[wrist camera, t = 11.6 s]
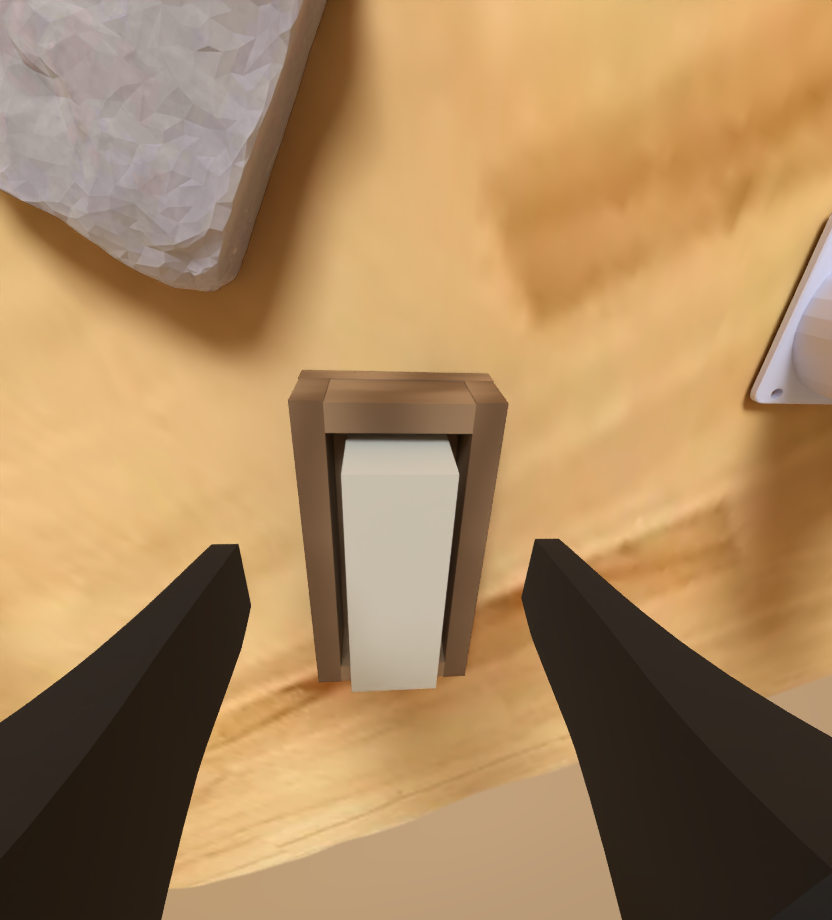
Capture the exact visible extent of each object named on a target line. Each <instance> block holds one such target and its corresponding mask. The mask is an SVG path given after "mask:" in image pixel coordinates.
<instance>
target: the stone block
mask: <svg viewBox="0 0 832 920" xmlns="http://www.w3.org/2000/svg"><path fill="white" fill-rule="evenodd" d="M326 1H327V0H0V190H2V191H4V192H6V193H7V194H9V195H11V196H13V197H14V198H17V199H19V200H22V201H24V202H26V203H28V204H30V205H32V206H35V207H37V208H39V209H41V210H43V211H45V212H47V213H49V214H51V215H53V216H55V217H57V218H59V219H61V220H62V221H63V222H64V223H66V224H67V225H68V226H70V227H71V228H72V229H74V230H75V231H76V232H78V233H79V234H81V235H82V236H84V237H85V238H87V239H88V240H90V241H91V242H93V243H94V244H96V245H97V246H99V247H100V248H101V249H103V250H104V251H106V252H107V253H108V254H110V255H111V256H112V257H114V258H115V259H117V260H118V261H120V262H122V263H123V264H125V265H127V266H129V267H130V268H132V269H134V270H136V271H138V272H140V273H142V274H144V275H146V276H149V277H151V278H154V279H156V280H158V281H160V282H162V283H164V284H166V285H169V286H171V287H174V288H182V289H193V290H200V291H216V290H218V289H219V288H221V287H222V286H223V285H226V284H228V283H229V282H231V281H232V280H234V279H235V278H236V277H237V275H238V273H239V271H240V268H241V263H242V260H243V257H244V255H245V253H246V250H247V247H248V244H249V240H250V237H251V234H252V231H253V227H254V223H255V220H256V217H257V215H258V212H259V209H260V206H261V203H262V200H263V197H264V193H265V190H266V187H267V184H268V180H269V177H270V174H271V171H272V168H273V165H274V162H275V159H276V156H277V154H278V151H279V148H280V145H281V142H282V139H283V135H284V132H285V129H286V126H287V123H288V119H289V116H290V113H291V110H292V107H293V104H294V102H295V99H296V96H297V92H298V89H299V85H300V82H301V79H302V76H303V73H304V69H305V66H306V63H307V59H308V56H309V52H310V49H311V46H312V43H313V40H314V37H315V35H316V32H317V29H318V26H319V23H320V20H321V17H322V14H323V11H324V9H325V5H326Z"/></svg>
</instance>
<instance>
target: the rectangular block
mask: <svg viewBox="0 0 832 920" xmlns="http://www.w3.org/2000/svg"><path fill="white" fill-rule="evenodd" d="M458 482H459V472H458V468H457V465H456V462H455V459H454V456H453V453H452V450H451V447H450V444H449V441H448V438H447V435H446V434H412V433H347V438H346V444H345V451H344V458H343V465H342V472H341V483H342V504H343V524H344V544H345V565H346V585H347V605H348V626H349V646H350V666H351V687H352V692H366V691H387V690H407V689H428V688H436V682H437V673H438V664H439V655H440V646H441V637H442V627H443V618H444V609H445V600H446V591H447V582H448V573H449V564H450V555H451V546H452V536H453V527H454V518H455V509H456V500H457V491H458Z"/></svg>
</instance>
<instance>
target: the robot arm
mask: <svg viewBox="0 0 832 920" xmlns="http://www.w3.org/2000/svg"><path fill="white" fill-rule="evenodd" d="M774 390H775V392H774V393H773V394H772V392H773V391H774ZM771 394H772V395H771ZM750 398H751V399H752V400H753V401H755V402H757V403H761V404H832V214H831V216H830V217H829V219H828V222H827V224H826V226H825V228H824V230H823V233H822V235H821V237H820V239H819V241H818V244H817V246H816V248H815V250H814V253H813V255H812V257H811V259H810V261H809V264H808V266H807V268H806V270H805V272H804V275H803V277H802V279H801V281H800V283H799V286H798V288H797V290H796V292H795V295H794V297H793V299H792V301H791V303H790V306H789V308H788V310H787V312H786V314H785V317H784V319H783V321H782V323H781V326H780V328H779V330H778V332H777V334H776V337H775V339H774V341H773V343H772V345H771V348H770V350H769V352H768V354H767V357H766V359H765V361H764V363H763V365H762V368H761V370H760V372H759V374H758V376H757V379H756V381H755V383H754V385H753V388H752V390H751V393H750ZM521 598H522V602H523V606H524V610H525V614H526V618H527V622H528V626H529V629H530V633H531V637H532V639H533V642H534V644H535V647H536V650H537V652H538V655H539V657H540V660H541V662H542V665H543V668H544V670H545V673H546V675H547V678H548V680H549V683H550V685H551V688H552V690H553V693H554V695H555V698H556V700H557V703H558V705H559V708H560V710H561V713H562V715H563V718H564V720H565V723H566V725H567V728H568V731H569V733H570V736H571V739H572V742H573V745H574V747H575V750H576V754H577V757H578V760H579V764H580V767H581V770H582V773H583V777H584V780H585V784H586V787H587V790H588V794H589V797H590V801H591V804H592V808H593V811H594V815H595V818H596V822H597V826H598V829H599V833H600V837H601V840H602V844H603V847H604V851H605V855H606V859H607V863H608V867H609V871H610V874H611V878H612V882H613V886H614V890H615V894H616V898H617V902H618V906H619V910H620V913H621V918H622V920H832V737H830V736H829V735H827V734H825V733H823V732H822V731H820V730H818V729H816V728H815V727H813V726H811V725H809V724H808V723H806V722H804V721H802V720H801V719H799V718H797V717H796V716H794V715H792V714H790V713H789V712H787V711H785V710H784V709H782V708H780V707H779V706H777V705H775V704H774V703H772V702H771V701H769V700H767V699H766V698H764V697H763V696H761V695H759V694H758V693H756V692H755V691H753V690H751V689H750V688H748V687H746V686H745V685H743V684H742V683H740V682H739V681H737V680H736V679H734V678H733V677H731V676H730V675H728V674H726V673H725V672H723V671H722V670H721V669H719V668H718V667H716V666H715V665H713V664H712V663H711V662H709V661H708V660H706V659H705V658H703V657H702V656H700V655H699V654H698V653H696V652H695V651H693V650H692V649H690V648H689V647H688V646H686V645H685V644H684V643H682V642H681V641H679V640H678V639H677V638H675V637H674V636H673V635H672V634H670V633H669V632H668V631H666V630H665V629H664V628H663V627H661V626H660V625H659V624H657V623H656V622H655V621H654V620H652V619H651V618H650V617H648V616H647V615H646V614H645V613H644V612H642V611H641V610H640V609H639V608H637V607H636V606H635V605H634V604H633V603H631V602H630V601H629V600H628V599H627V598H625V597H624V596H623V595H622V594H621V593H620V592H618V591H617V590H616V589H615V588H614V587H613V586H612V585H610V584H609V583H608V582H607V581H606V580H605V579H604V578H602V577H601V576H600V575H599V574H598V573H597V572H596V571H595V570H593V569H592V568H591V567H590V566H589V565H588V564H587V563H586V562H585V561H583V560H582V559H581V558H580V557H579V556H578V555H577V554H576V553H574V552H573V551H572V550H571V549H570V548H569V547H568V546H567V545H565V544H564V543H563V542H562V541H561V540H559V539H535V541H534V546H533V550H532V554H531V559H530V563H529V567H528V572H527V576H526V580H525V584H524V589H523V593H522V597H521ZM250 608H251V603H250V598H249V593H248V588H247V583H246V579H245V574H244V569H243V564H242V559H241V554H240V549H239V545H238V544H214V545H211V546H210V547H209V548H207V549H206V550H205V551H204V552H203V553H202V554H201V555H200V556H199V557H198V558H197V559H196V560H195V561H194V562H193V563H192V564H190V565H189V566H188V567H187V568H186V569H185V570H184V571H183V572H182V573H181V574H180V575H179V576H178V577H177V578H176V579H175V580H174V581H173V582H172V583H171V584H170V585H169V586H168V587H167V588H166V589H164V590H163V591H162V592H161V593H160V594H159V595H158V596H157V597H156V598H155V599H154V600H153V601H152V602H150V603H149V604H148V605H147V606H146V607H145V608H144V609H143V610H142V611H141V612H140V613H139V614H138V615H136V616H135V617H134V618H133V619H132V620H131V621H130V622H129V623H127V624H126V625H125V626H124V627H123V628H122V629H120V630H119V631H118V632H117V633H116V634H115V635H113V636H112V637H111V638H110V639H109V640H108V641H106V642H105V643H104V644H103V645H102V646H101V647H100V648H98V649H97V650H96V651H95V652H94V653H92V654H91V655H90V656H89V657H88V658H86V659H85V660H84V661H83V662H81V663H80V664H79V665H78V666H76V667H75V668H74V669H72V670H71V671H70V672H69V673H67V674H66V675H65V676H64V677H62V678H61V679H60V680H58V681H57V682H56V683H54V684H53V685H52V686H50V687H49V688H48V689H46V690H45V691H44V692H42V693H41V694H40V695H38V696H37V697H36V698H34V699H33V700H32V701H30V702H29V703H27V704H26V705H25V706H23V707H22V708H21V709H19V710H18V711H16V712H15V713H13V714H12V715H10V716H9V717H8V718H6V719H5V720H3V721H2V722H0V920H161V918H162V914H163V909H164V905H165V900H166V896H167V892H168V888H169V884H170V880H171V876H172V871H173V867H174V863H175V859H176V855H177V851H178V847H179V843H180V839H181V835H182V831H183V827H184V823H185V819H186V816H187V812H188V808H189V804H190V800H191V797H192V793H193V789H194V785H195V781H196V778H197V774H198V771H199V768H200V764H201V761H202V758H203V755H204V752H205V749H206V746H207V743H208V740H209V738H210V735H211V732H212V729H213V727H214V724H215V721H216V718H217V715H218V713H219V710H220V707H221V704H222V702H223V699H224V696H225V693H226V690H227V688H228V685H229V682H230V679H231V676H232V674H233V671H234V668H235V665H236V662H237V659H238V657H239V654H240V651H241V648H242V644H243V640H244V635H245V631H246V627H247V622H248V618H249V613H250Z"/></svg>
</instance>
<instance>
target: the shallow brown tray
mask: <svg viewBox="0 0 832 920" xmlns="http://www.w3.org/2000/svg"><path fill="white" fill-rule="evenodd" d="M493 382H494V381H493V380H492V378H491V377H490V376H489V374H477V373H426V372H375V371H323V370H302V371H301V373H300V375H299V377H298V382H297V384H296V386H295V388H294V390H293V392H292V394H291V396H290V398H289V400H288V405H289V414H290V423H291V432H292V441H293V450H294V460H295V469H296V478H297V487H298V496H299V505H300V514H301V524H302V533H303V542H304V551H305V560H306V569H307V578H308V588H309V597H310V606H311V615H312V624H313V633H314V643H315V652H316V661H317V670H318V679H319V682H339V681H348V680H351V666H350V646H349V626H348V605H347V585H346V565H345V544H344V524H343V504H342V483H341V472H342V465H343V458H344V451H345V444H346V438H347V433H412V434H446V435H447V438H448V441H449V444H450V447H451V450H452V453H453V456H454V459H455V462H456V465H457V468H458V472H459V482H458V491H457V500H456V509H455V518H454V527H453V536H452V546H451V555H450V564H449V573H448V582H447V591H446V600H445V609H444V618H443V627H442V637H441V646H440V655H439V664H438V673H437V676H443V677H448V676H465V670H466V664H467V658H468V652H469V646H470V639H471V633H472V627H473V621H474V614H475V608H476V602H477V596H478V590H479V583H480V577H481V571H482V565H483V559H484V552H485V546H486V540H487V534H488V528H489V521H490V515H491V509H492V503H493V496H494V490H495V484H496V478H497V472H498V465H499V459H500V453H501V447H502V441H503V434H504V428H505V422H506V416H507V410H508V402H507V401H506V399H505V398H504V396H503V395H502V394H501V392H500V391H499V389H498V388H497V387H496V385H495V384H494V383H493Z"/></svg>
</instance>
